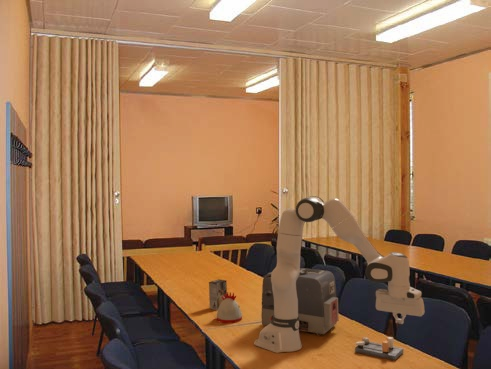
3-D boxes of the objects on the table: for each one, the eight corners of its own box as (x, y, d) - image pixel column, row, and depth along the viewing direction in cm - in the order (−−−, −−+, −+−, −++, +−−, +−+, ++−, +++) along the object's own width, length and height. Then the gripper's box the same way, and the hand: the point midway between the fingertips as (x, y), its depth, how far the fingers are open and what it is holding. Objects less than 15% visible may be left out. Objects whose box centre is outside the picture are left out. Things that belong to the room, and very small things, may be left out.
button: (361, 342, 229) (361, 338, 229) (364, 340, 231) (363, 337, 231) (367, 343, 227) (367, 339, 227) (369, 342, 229) (369, 338, 229)
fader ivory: (387, 347, 222) (387, 338, 222) (389, 345, 224) (389, 336, 224) (391, 348, 221) (391, 339, 221) (393, 346, 223) (393, 337, 222)
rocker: (355, 345, 224) (355, 343, 224) (357, 343, 226) (357, 341, 226) (363, 345, 222) (362, 342, 222) (365, 343, 224) (364, 341, 224)
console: (354, 351, 223) (354, 346, 223) (363, 344, 232) (363, 339, 232) (394, 360, 212) (394, 354, 212) (403, 352, 221) (403, 346, 221)
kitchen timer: (238, 323, 266) (238, 295, 266) (213, 322, 269) (213, 294, 269) (244, 316, 280) (243, 289, 279) (220, 315, 283) (219, 288, 282)
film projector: (348, 326, 259) (347, 268, 258) (323, 343, 235) (323, 279, 234) (282, 314, 282) (281, 261, 281) (253, 328, 257) (253, 270, 256)
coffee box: (219, 305, 303) (218, 278, 302) (227, 306, 299) (226, 280, 298) (209, 308, 295) (208, 281, 295) (217, 310, 291) (216, 283, 291)
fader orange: (382, 351, 217) (382, 342, 217) (384, 349, 219) (384, 340, 219) (386, 352, 216) (386, 343, 216) (388, 350, 218) (388, 341, 218)
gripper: (372, 289, 216) (373, 321, 217) (420, 295, 205) (421, 329, 205) (378, 286, 222) (378, 317, 222) (425, 292, 210) (425, 325, 210)
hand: (399, 323), depth 213 cm, fingers closed
